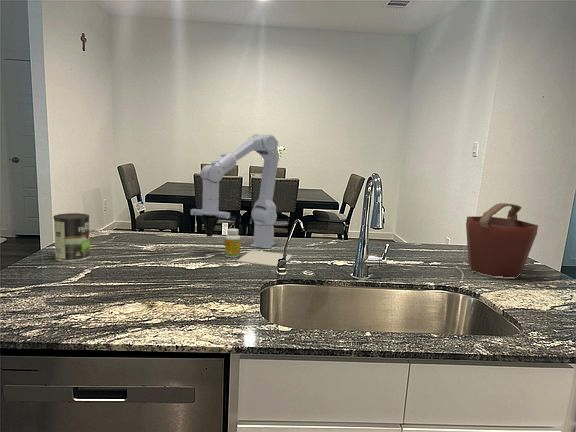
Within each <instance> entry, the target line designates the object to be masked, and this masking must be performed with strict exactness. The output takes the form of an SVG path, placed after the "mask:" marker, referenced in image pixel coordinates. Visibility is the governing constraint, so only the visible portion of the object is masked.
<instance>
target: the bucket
mask: <svg viewBox="0 0 576 432" xmlns="http://www.w3.org/2000/svg"><path fill="white" fill-rule="evenodd" d="M505 207H511V208H510V210H508V212H507V217H506V218H504V217H496V216H494V215H496V214H497V213H498V212H500V211H501V210H502V209H503V208H505ZM521 209H522V206H520V205H518V204H512V203H506V202H504V203H503V202H501V203H500V202H499V203H495V204H494V205H493V206H492V207H490V208H489V209H488V210H486V211H485V212H483V214H482V215H481V216H480V215H479V216H466V223H465V228H466V229H465V230H466V232H465V233H466V245H467V246H466V247H467V260H468V267H469V266H470V268H471V270H473V271H476V272H480V273H483V274H487V275H491V276H503V277H517V276H518V275H519V274H520V273H521V274H522V273H523V270H524V267H525V265H526V262H527V259H528V257H529V254H530V252H531V249H532V247H533V245H534V243H535V240H536V237H537V235H538V229H539V225H538V224H534V223H531V222H527V221H522V220H520V219H518V212H520V211H521ZM470 268H469V269H470ZM471 270H470V271H471Z"/></svg>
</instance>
